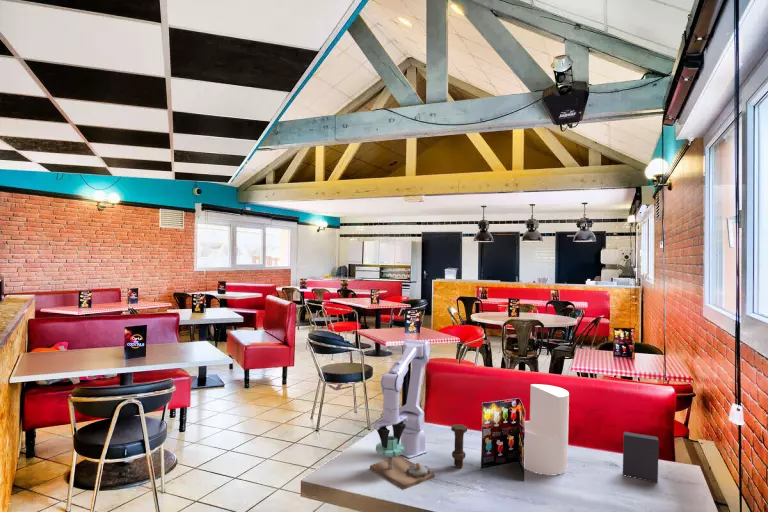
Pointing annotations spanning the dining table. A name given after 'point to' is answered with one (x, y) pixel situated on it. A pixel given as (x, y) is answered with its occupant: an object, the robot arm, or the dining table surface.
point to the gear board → (402, 471)
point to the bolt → (458, 444)
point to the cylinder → (547, 430)
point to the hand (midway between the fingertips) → (390, 445)
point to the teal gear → (390, 447)
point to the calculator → (640, 456)
